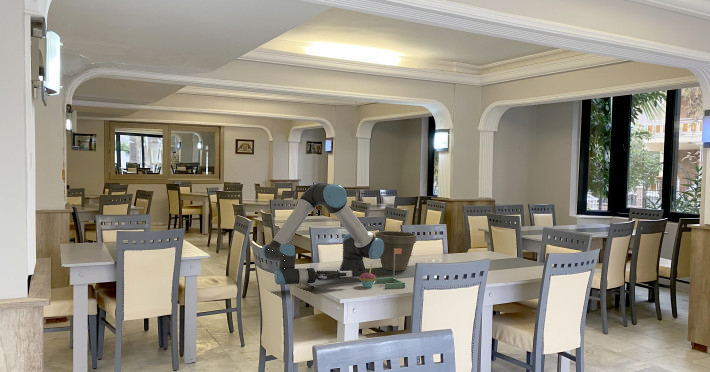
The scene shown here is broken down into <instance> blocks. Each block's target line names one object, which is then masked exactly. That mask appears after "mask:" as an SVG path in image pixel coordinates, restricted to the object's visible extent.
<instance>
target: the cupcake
mask: <svg viewBox="0 0 710 372" xmlns="http://www.w3.org/2000/svg"><path fill="white" fill-rule="evenodd" d="M372 264H373V263H371V264H370V266H369V267H370V268H369V272H366V273H363V274H361V275H359V276H358V279H359V280H360V282H361V285H362V287H363V288H372V287H373V285H374V282H375V280H376V278H377V277H376V275H375V274H373V273H371V272H372V267H373V265H372Z"/></svg>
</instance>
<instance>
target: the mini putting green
mask: <svg viewBox="0 0 710 372" xmlns="http://www.w3.org/2000/svg"><path fill="white" fill-rule="evenodd" d="M401 252H402V249H395V248H394V265H393V271H392V272H393V273H392V274H393V275H392V277H378V278H377V277H376V280H375V281H374V282H375V284H384V288H385V289H386V290H388V289H389V290H391V289H405V288H406V282H405V281H402V280H400V279H398V278H396V273H395V272H396V271H395V254H401Z"/></svg>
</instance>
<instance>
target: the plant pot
mask: <svg viewBox="0 0 710 372" xmlns="http://www.w3.org/2000/svg"><path fill="white" fill-rule="evenodd" d="M374 236H375V237H376V238H379V239H381V240H382V241H383V243H384V251H383V253H382V255H381V257H379V259H380V264H381V267H382V270H386V271H392V272H393V265H394V248H395V249H402V252H401V254H395V272H396V271H397V272H398V271H399V272H401V270H402V271H406V270H407V268H408V265H409V262H410V258H411V256H412V252H413V249H414V245H415V243H416V242H417V233H415V232H414V233H413V232H407V231H395V230H382V231H381V230H380V231H376V232H375V233H374Z"/></svg>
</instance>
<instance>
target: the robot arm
mask: <svg viewBox="0 0 710 372" xmlns="http://www.w3.org/2000/svg"><path fill="white" fill-rule="evenodd" d="M347 195H348V194H347V191H346V189H345V188H344V187H343V186H341V185H340V184H335V183H321V182H320V183H315V184H313V185H311V186H310V187H308V188H307V189H306V190H305V191H304V192H303V193H302V195H301V196H300V197H299V198H298V200H297V201H298V203H297V205H296V206H295V208H293V210H292V211H291V213H290V215H289V216H288V218H287V219H286V220H285V222H284V223H283V224H282V226H281V227H280V229H279V230H278V232H276V234H275V235H274V237H273V239H272V240H271V241H270V243H268V244H265V245H263V246H262V248H261V250H260V254H261V256H262V257H263V259H265V260H268V261H273V262H277V263H278V264H279V265H278V266H279V268H277V269H275V270H274V275H273V276H274V278H273V279H274V282H275V284H276V285H283V286H285V285H287V286H288V285H300V286H302V284H303V285H304V284H314V283H315V282H316V280H319V281H326V280H327V281H328V280H335V279H338V280H340V278H351V277H353V276H354V277H357V276H358V277H359V276H360V275H361V274H363V273H367V271H366V270H367V269H366V267H365V266H366V265H365V262H364V259H365V258H366V259H369V260H377V259H378V260H379V259H380V257H381V255H382V253H383V251H384V243H383V241H382V240H381V239H379V238H376V237H375V234H374V233H373V232H372V231H370V230H367V229H366V228H365V226H364V225H363V224H362V222H361V221H360V220H359V218H358V217H357V215H356V214H355V213H354V211H353V210H352V209H351V207H350V206H349V204H348V196H347ZM317 207H324V208H325V209H326V211H328V213H329V214H333V215H334V216H335V217H336V218H337V220H338V221H339V223H340V224H341V225H342V226H343V228H345V230H346V231H347V233H346V234H344V235H343V238H342V261H341V264H340V265H339V266H340V267H339V268H338V269H336V270H319V269H318V270H315V268H314V267H307V268H306V267H302V268H301V267H300V268H296V245H294V244H293V243H290V241H291V240H292V239H293V237H294V235H295V234H296V232H297V231H298V230H299V228H300V227H301V226H302V224H303V223H304V221H305V219H306V218H307V217H308V216H309V214H310V213H311V212H314V210H315V209H316V208H317ZM268 249H269V250H268ZM272 250H273V251H272ZM283 255H284V256H283ZM284 260H285V261H284ZM284 268H285V269H284Z"/></svg>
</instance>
